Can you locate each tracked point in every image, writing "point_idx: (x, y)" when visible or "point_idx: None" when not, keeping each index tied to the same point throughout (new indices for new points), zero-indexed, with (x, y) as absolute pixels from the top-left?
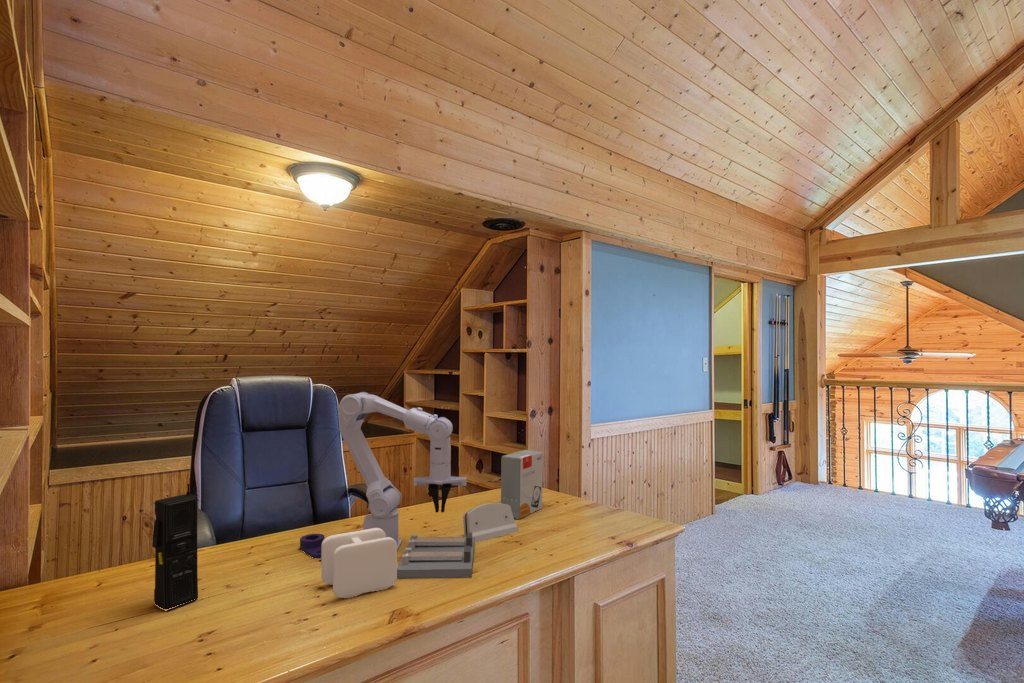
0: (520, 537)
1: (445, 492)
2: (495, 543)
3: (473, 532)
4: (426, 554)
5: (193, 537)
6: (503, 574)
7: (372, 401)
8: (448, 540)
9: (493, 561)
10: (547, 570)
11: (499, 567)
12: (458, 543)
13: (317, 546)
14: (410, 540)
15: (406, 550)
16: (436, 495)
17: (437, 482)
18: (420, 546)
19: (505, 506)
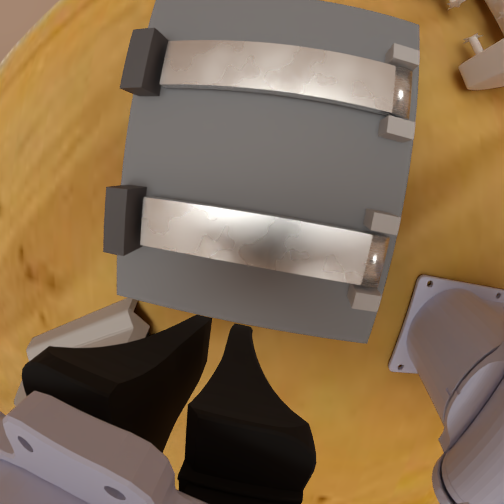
0: (25, 300)
1: (94, 357)
2: (73, 274)
3: (121, 332)
4: (317, 68)
5: None
6: (83, 34)
7: None
8: (209, 224)
9: (86, 121)
10: (5, 72)
11: (80, 77)
12: (169, 199)
13: None
14: (373, 315)
15: (407, 121)
16: (213, 383)
17: (89, 447)
18: None
19: (20, 401)
